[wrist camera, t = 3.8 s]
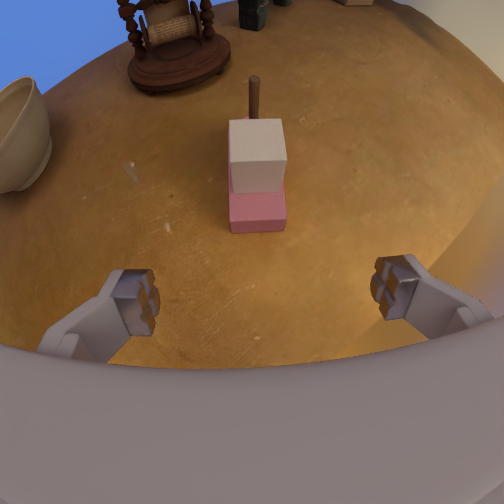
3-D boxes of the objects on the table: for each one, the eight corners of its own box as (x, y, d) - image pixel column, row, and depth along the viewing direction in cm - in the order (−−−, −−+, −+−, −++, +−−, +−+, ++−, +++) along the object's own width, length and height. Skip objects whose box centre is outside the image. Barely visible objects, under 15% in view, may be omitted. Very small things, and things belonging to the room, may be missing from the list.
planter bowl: (4, 151, 29) (-31, 119, 19) (73, 103, 31) (43, 58, 20) (-5, 232, 26) (-55, 207, 15) (71, 182, 27) (20, 135, 17)
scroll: (216, 34, 34) (208, -65, 15) (244, 80, 31) (243, -55, 11) (130, 60, 33) (96, -34, 14) (135, 113, 30) (79, -13, 10)
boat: (282, 231, 26) (304, 171, 15) (231, 233, 26) (220, 174, 15) (272, 131, 29) (281, 54, 18) (229, 132, 29) (222, 55, 18)
